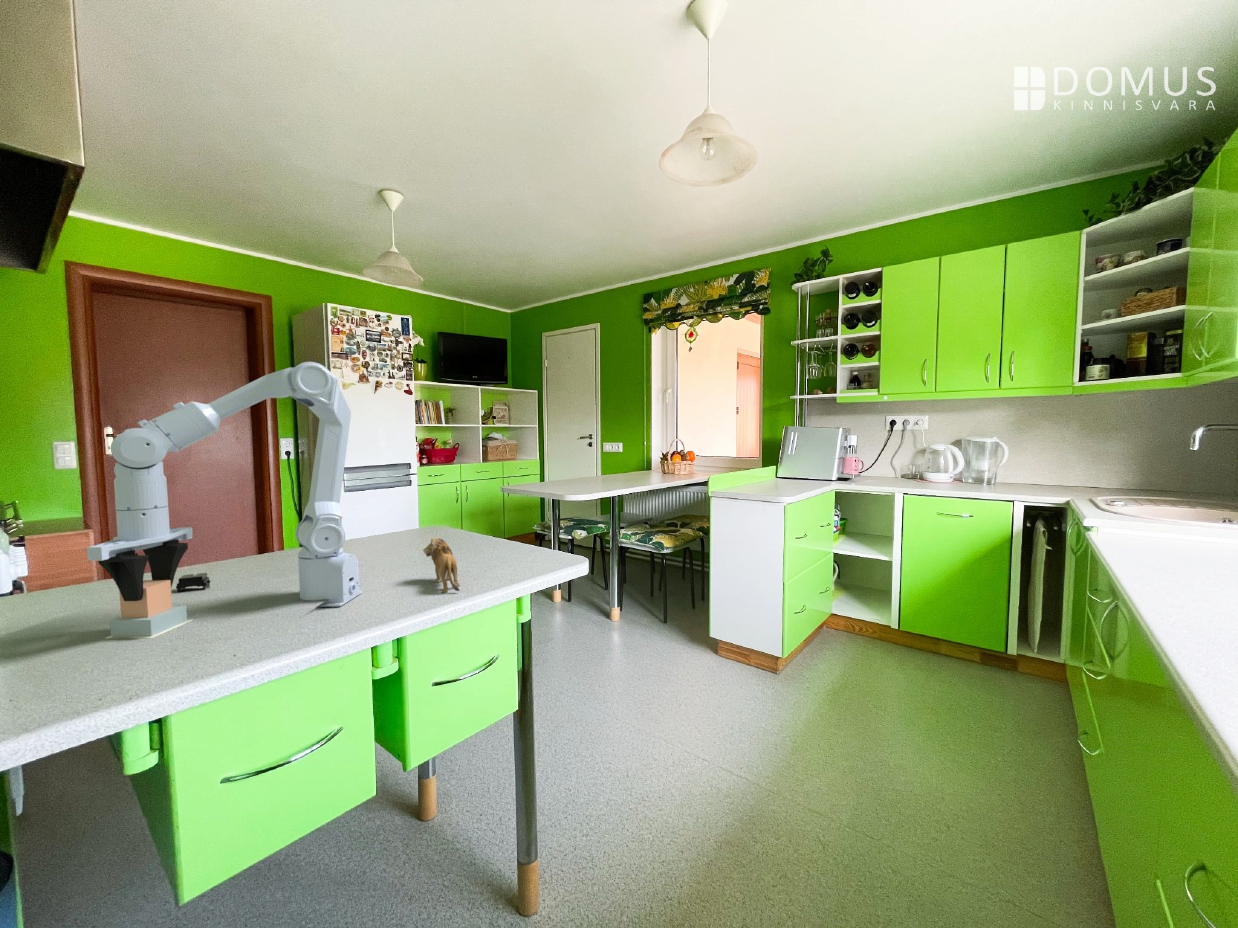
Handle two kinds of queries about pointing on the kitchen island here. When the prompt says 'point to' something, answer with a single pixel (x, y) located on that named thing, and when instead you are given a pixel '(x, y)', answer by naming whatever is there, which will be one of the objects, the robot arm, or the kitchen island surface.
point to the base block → (148, 623)
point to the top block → (149, 600)
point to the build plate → (193, 581)
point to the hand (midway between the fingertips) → (148, 594)
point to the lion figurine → (443, 562)
